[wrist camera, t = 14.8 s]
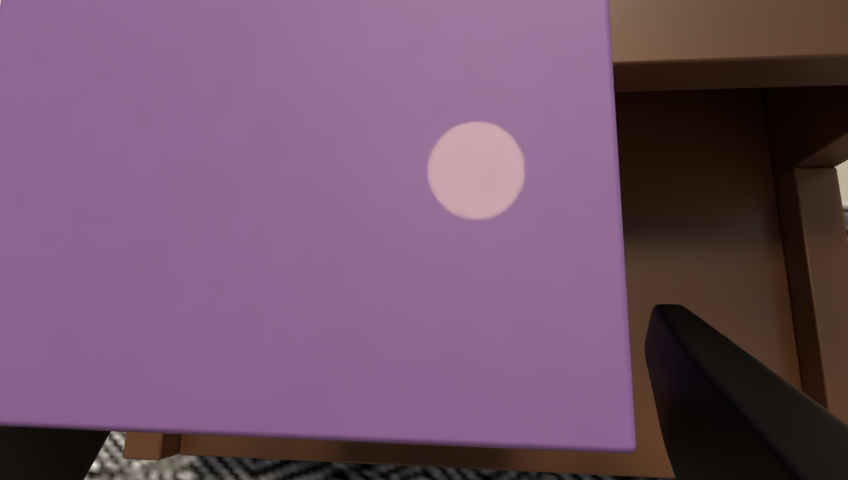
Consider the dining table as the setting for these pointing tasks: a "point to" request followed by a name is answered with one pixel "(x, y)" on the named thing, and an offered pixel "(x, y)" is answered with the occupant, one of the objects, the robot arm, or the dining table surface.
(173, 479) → the dining table surface
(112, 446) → the dining table surface
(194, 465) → the dining table surface
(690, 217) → the walnut shelf
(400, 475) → the dining table surface
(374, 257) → the chocolate box
